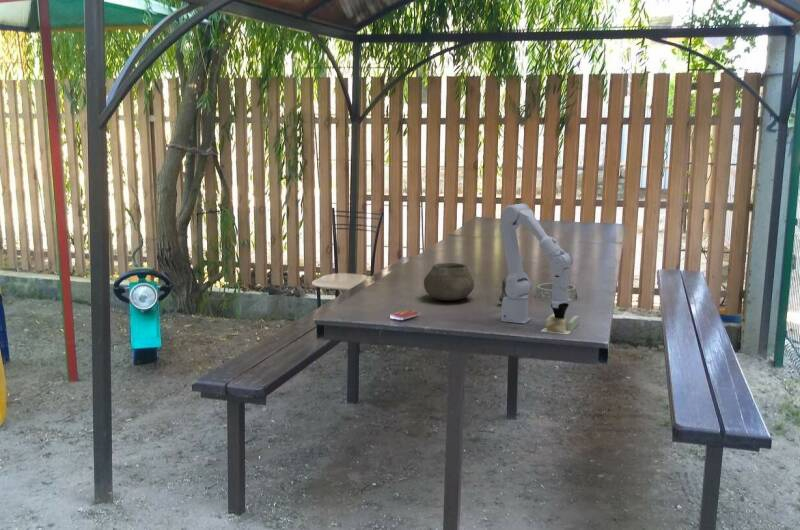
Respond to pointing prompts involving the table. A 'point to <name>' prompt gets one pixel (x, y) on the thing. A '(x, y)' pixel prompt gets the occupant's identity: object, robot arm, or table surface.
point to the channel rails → (571, 323)
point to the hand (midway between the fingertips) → (559, 323)
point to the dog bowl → (546, 292)
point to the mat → (555, 332)
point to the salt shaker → (503, 292)
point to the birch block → (556, 324)
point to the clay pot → (449, 281)
